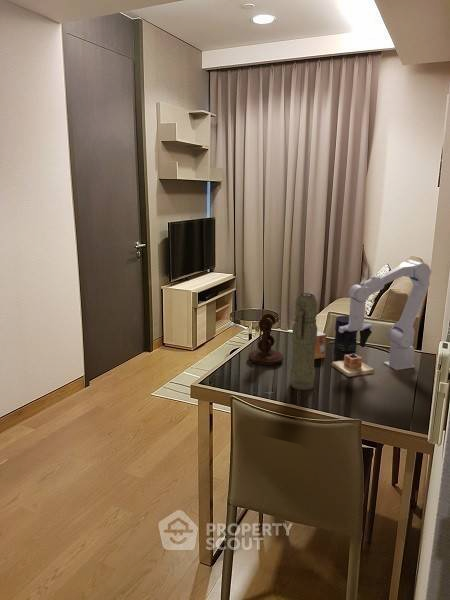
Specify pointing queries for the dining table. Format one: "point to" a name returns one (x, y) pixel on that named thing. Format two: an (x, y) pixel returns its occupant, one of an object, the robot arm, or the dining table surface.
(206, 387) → the dining table surface
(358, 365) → the bead
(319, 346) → the small box
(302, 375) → the grey-green tall column
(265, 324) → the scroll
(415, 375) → the dining table surface
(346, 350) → the storage jar
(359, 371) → the lacing board
